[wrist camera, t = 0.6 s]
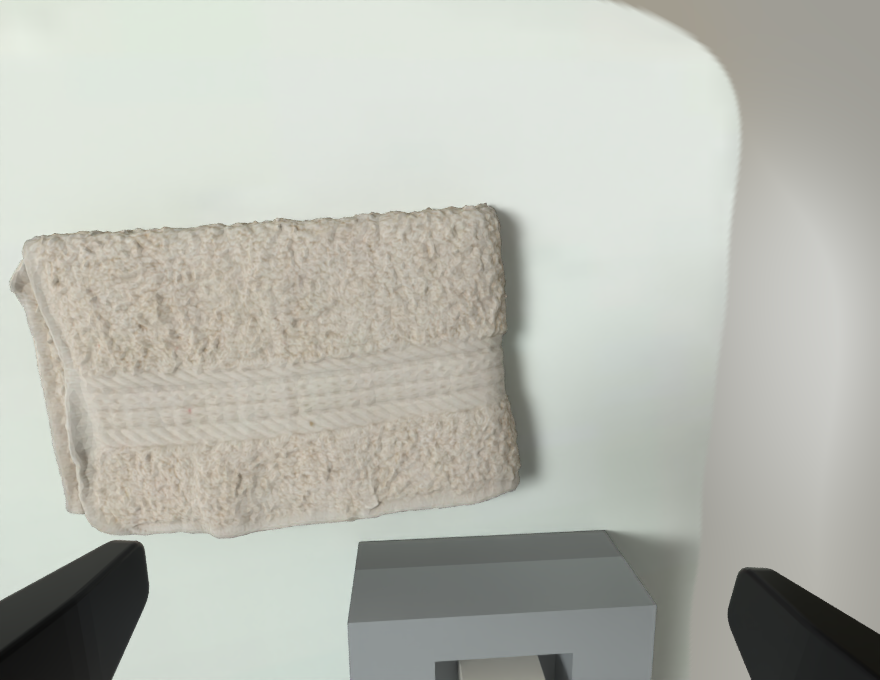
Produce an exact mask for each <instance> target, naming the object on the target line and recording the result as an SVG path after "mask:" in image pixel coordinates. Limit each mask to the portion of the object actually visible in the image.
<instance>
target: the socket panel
mask: <svg viewBox="0 0 880 680" xmlns="http://www.w3.org/2000/svg"><path fill="white" fill-rule="evenodd" d="M656 610H657V605H656V603H655V602H654V600H653V599H652V597H651V596H650V595H649V593H648V592H647V590H646V589H645V587H644V586H643V585H642V583H641V582H640V580H639V579H638V577H637V576H636V575H635V573H634V572H633V570H632V569H631V567H630V566H629V565H628V563H627V562H626V560H625V559H624V557H623V556H622V555H621V553H620V552H619V550H618V549H617V547H616V546H615V545H614V543H613V542H612V540H611V539H610V537H609V536H608V535H607V533H606V532H605V530H602V531H581V532H561V533H540V534H519V535H498V536H478V537H457V538H436V539H415V540H394V541H374V542H359V545H358V552H357V559H356V566H355V573H354V580H353V588H352V595H351V602H350V609H349V616H348V644H349V665H350V680H458V660H470V659H485V658H501V657H516V656H532V655H537V656H538V659H539V662H540V665H541V668H542V671H543V674H544V677H545V680H651V676H652V663H653V650H654V636H655V623H656Z"/></svg>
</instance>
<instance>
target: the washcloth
mask: <svg viewBox="0 0 880 680" xmlns="http://www.w3.org/2000/svg"><path fill="white" fill-rule="evenodd" d="M500 229H501V226H500V222H499V219H498V216H497V214H496V211H495V209H494V208H492V207H488V206H487V203H484V204H479V205H477V206H475V207H474V206H467V205H465V207H463V208H456V207H453V206H451V207H448V208H444V209H438V210H435V209H434V210H432V209H431V208H429V207H428V208H427V209H426V210H422V211H420V212H416V211H414V212H412V213H405V212H400V211H394V212H393V211H390V212H387V213H385V214H379V213H374V212H371V213H370V214H359V215H355V216H354V217H346V218H345V217H343V218H341V219H332V218H319V219H314V220H311V221H308V220H305V221H303V222H302V221H296V220H291V219H284V218H276V219H274V220H273V221H264V222H262V223H258V222H257V221H254V222H253V223H235V224H233V225H231V226H226V225H224V224H221V223H218V224H209V225H203V226H199V227H196V228H195V227H193V228H169V227H163V228H161V229H156V228H154V229H149V230H143V229H141V228H136V229H135V230H122V231H119V232H114V233H112V232H108V231H107V232H101V231H97V230H96V231H91V232H89V231H79V232H77V233H72V234H68V233H66V234H57V233H54V234H52V235H48V236H46V235H42V236H35V237H34V238H32V239H30V240H27V241H26V242H25V243H24V246H23V250H22V256H23V260H21V261H20V263H19V265H18V267H17V268H16V270H15V271H14V273H13V275H12V277H11V279H10V281H9V285H10V289H11V292H13V293H15V295H16V297H17V299H18V300H19V302H20V303H21V305H22V306H23V307H24V310H25V313H26V317H27V322H28V325H29V328H30V331H31V334H32V336H33V340H34V345H35V350H36V358H37V366H38V370H39V375H40V378H41V385H42V388H43V393H44V398H45V403H46V408H47V414H48V417H49V424H50V429H51V436H52V445H53V448H54V453H55V456H56V461H57V464H58V467H59V473H60V476H61V479H62V485H63V488H64V494H65V497H66V510H67V511H68V512H69V513H73V514H85V516H86V518H87V520H88V521H89V523H90V524H91V526H93V527H95V528H96V529H97V530H99V531H100V532H104V533H107V534H111V535H144V536H146V535H151V534H160V533H175V532H185V533H192V534H195V533H207V534H211V535H212V536H214V537H216V538H219V539H220V538H234V537H238V536H242V535H247V534H249V533H253V532H258V531H265V530H274V529H280V528H286V527H291V526H298V525H310V524H319V523H335V522H343V521H354V520H357V519H365V518H374V517H379V516H381V515H384V514H392V513H396V512H404V511H409V510H413V511H416V510H425V509H433V508H439V509H441V508H447V507H455V506H461V505H473V504H476V503H481V502H484V501H487V500H490V499H492V498H495V497H498V496H500V495H502V494H505V493H507V492H511V491H514V490H516V488H517V486H518V484H519V482H520V477H519V474H518V470H519V468H520V467H521V464H520V458H519V455H518V453H519V451H518V446H517V443H516V439H517V431H516V430H515V425H516V424H515V421H514V418H513V415H512V412H511V408H510V402H509V400H508V395H506V391H505V380H504V377H505V373H504V366H503V349H502V346H501V343H502V336H503V335H504V334H505V333H506V331H507V324H506V303H505V299H506V298H507V295H506V294H505V290H504V286H505V283H506V281H505V277H504V269H503V262H502V259H501V244H502V241H501V237H500Z"/></svg>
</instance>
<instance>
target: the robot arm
mask: <svg viewBox="0 0 880 680" xmlns="http://www.w3.org/2000/svg"><path fill="white" fill-rule="evenodd" d="M148 594H149V581H148V572H147V564H146V556H145V550H144V546H143V545H142V543H140V542H138V541H126V540H113V541H110V542H108V543H106V544H104V545H102V546H100V547H98V548H96V549H95V550H93V551H91V552H89V553H87V554H85V555H84V556H82V557H80V558H78V559H76V560H74V561H72V562H71V563H69V564H67V565H65V566H63V567H61V568H60V569H58V570H56V571H54V572H52V573H50V574H49V575H47V576H45V577H43V578H41V579H39V580H38V581H36V582H34V583H32V584H30V585H28V586H27V587H25V588H23V589H21V590H19V591H17V592H16V593H14V594H12V595H10V596H8V597H6V598H4V599H3V600H1V601H0V680H112V678H113V676H114V674H115V671H116V669H117V667H118V665H119V663H120V660H121V658H122V656H123V654H124V651H125V649H126V647H127V645H128V642H129V640H130V638H131V636H132V634H133V631H134V629H135V627H136V625H137V622H138V620H139V618H140V616H141V613H142V611H143V609H144V607H145V604H146V602H147V598H148ZM728 622H729V626H730V628H731V631H732V634H733V636H734V638H735V641H736V643H737V646H738V648H739V651H740V653H741V656H742V658H743V661H744V663H745V665H746V668H747V670H748V673H749V675H750V677H751V680H880V634H878V633H877V632H875V631H873V630H872V629H870V628H868V627H866V626H865V625H863V624H862V623H860V622H858V621H857V620H855V619H853V618H852V617H850V616H848V615H847V614H845V613H843V612H842V611H840V610H839V609H837V608H835V607H833V606H832V605H830V604H829V603H827V602H825V601H823V600H822V599H820V598H819V597H817V596H815V595H814V594H812V593H810V592H809V591H807V590H805V589H804V588H802V587H800V586H799V585H797V584H795V583H794V582H792V581H790V580H789V579H787V578H785V577H784V576H782V575H780V574H779V573H777V572H775V571H774V570H771V569H768V568H752V567H746V568H743V569H741V570H740V571H739V573H738V575H737V578H736V582H735V586H734V590H733V593H732V596H731V600H730V604H729V608H728Z"/></svg>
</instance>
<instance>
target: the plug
mask: <svg viewBox="0 0 880 680" xmlns="http://www.w3.org/2000/svg"><path fill="white" fill-rule="evenodd" d="M458 680H545V677H544V674H543V671H542V668H541V665H540V662H539V659H538V656H537V655H532V656H516V657H501V658H485V659H470V660H458Z"/></svg>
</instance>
